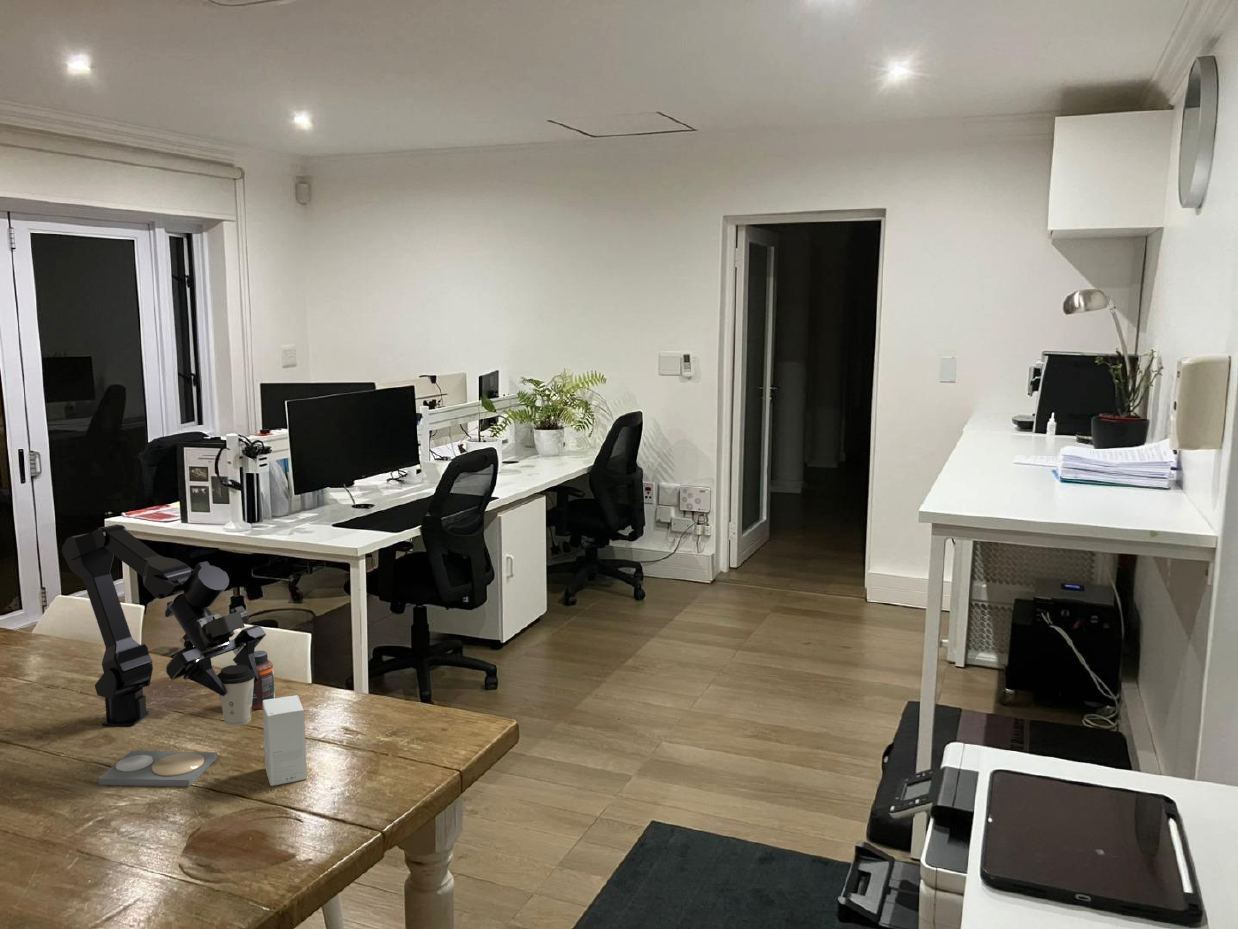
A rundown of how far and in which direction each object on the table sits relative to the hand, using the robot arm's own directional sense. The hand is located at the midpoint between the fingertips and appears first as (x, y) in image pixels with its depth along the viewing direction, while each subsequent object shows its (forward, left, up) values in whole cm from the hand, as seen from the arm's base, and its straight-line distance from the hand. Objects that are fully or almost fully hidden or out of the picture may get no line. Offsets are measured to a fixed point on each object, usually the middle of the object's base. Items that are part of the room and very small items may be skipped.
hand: (241, 688), depth 179 cm
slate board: (-13, -7, -13) cm, 20 cm away
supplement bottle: (-7, +24, -13) cm, 28 cm away
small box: (+10, -7, -13) cm, 18 cm away
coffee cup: (-1, +1, -7) cm, 7 cm away
